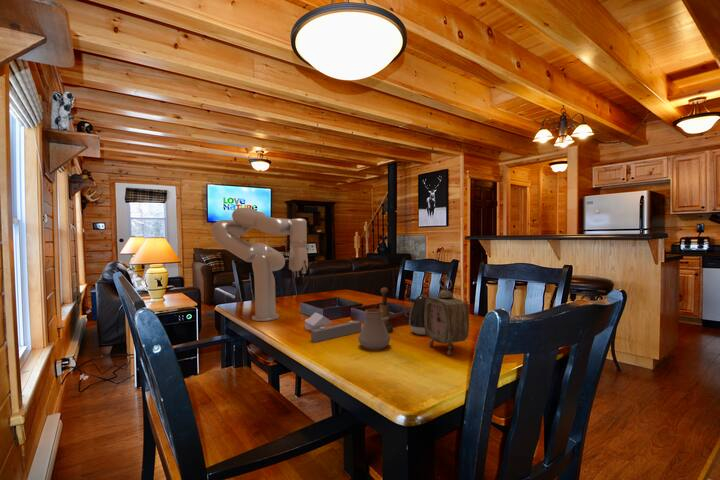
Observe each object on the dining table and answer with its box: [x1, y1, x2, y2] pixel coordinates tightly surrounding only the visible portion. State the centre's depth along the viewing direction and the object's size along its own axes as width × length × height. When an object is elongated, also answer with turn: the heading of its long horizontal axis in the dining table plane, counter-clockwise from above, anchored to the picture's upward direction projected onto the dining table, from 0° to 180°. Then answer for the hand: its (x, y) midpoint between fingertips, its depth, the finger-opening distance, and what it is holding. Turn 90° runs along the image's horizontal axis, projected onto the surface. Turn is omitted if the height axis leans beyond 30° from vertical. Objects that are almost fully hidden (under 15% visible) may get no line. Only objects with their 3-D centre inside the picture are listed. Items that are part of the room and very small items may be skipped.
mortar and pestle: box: [379, 286, 394, 334], centre depth 144 cm, size 7×6×18 cm
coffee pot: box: [357, 308, 411, 351], centre depth 120 cm, size 21×12×15 cm, turn 44°
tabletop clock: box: [424, 276, 470, 356], centre depth 119 cm, size 14×9×25 cm, turn 22°
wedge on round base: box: [304, 311, 334, 331], centre depth 148 cm, size 9×7×13 cm
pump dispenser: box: [408, 294, 428, 336], centre depth 140 cm, size 10×10×15 cm
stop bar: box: [310, 320, 362, 344], centre depth 137 cm, size 3×22×5 cm, turn 129°
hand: (299, 285), depth 160 cm, fingers closed
